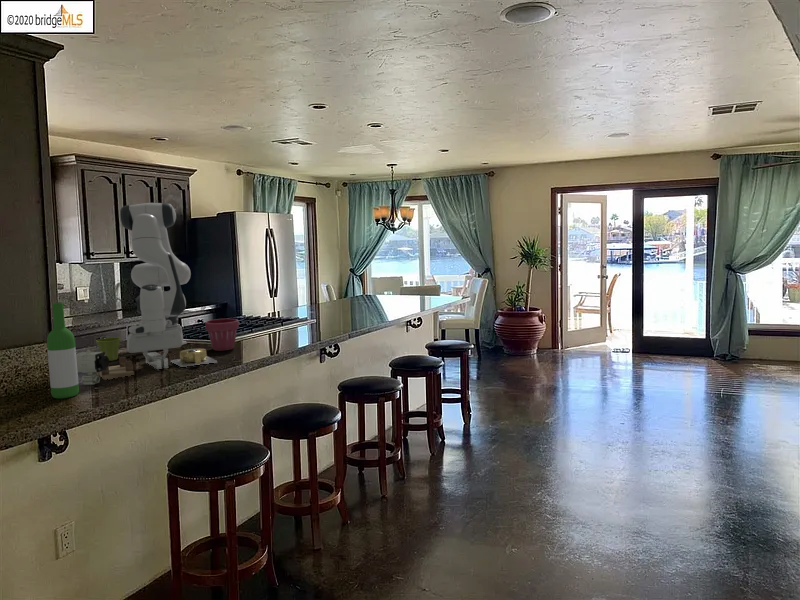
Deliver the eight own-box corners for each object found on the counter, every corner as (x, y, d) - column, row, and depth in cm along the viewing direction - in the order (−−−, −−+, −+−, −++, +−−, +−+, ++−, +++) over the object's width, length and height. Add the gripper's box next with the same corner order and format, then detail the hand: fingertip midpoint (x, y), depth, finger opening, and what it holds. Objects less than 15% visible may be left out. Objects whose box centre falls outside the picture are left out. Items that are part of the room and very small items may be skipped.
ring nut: (178, 359, 238) (177, 349, 238) (203, 356, 243) (203, 347, 243) (184, 365, 226) (184, 355, 226) (211, 361, 231) (210, 352, 230)
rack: (95, 372, 223) (94, 359, 222) (125, 368, 229) (124, 355, 228) (103, 380, 210) (102, 366, 209) (134, 375, 216) (133, 362, 215)
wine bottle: (59, 400, 184) (51, 304, 180) (46, 397, 188) (38, 303, 184) (84, 394, 190) (76, 301, 187) (70, 391, 194) (63, 301, 191)
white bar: (145, 362, 238) (145, 353, 238) (156, 361, 241) (155, 351, 240) (157, 370, 224) (156, 359, 223) (168, 368, 226) (167, 358, 226)
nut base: (170, 362, 238) (170, 359, 238) (205, 357, 246) (205, 355, 246) (181, 368, 227) (180, 365, 226) (217, 362, 235) (217, 360, 235)
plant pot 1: (127, 358, 249) (126, 338, 248) (108, 362, 240) (106, 341, 239) (111, 357, 253) (110, 337, 252) (92, 361, 244) (90, 340, 243)
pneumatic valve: (79, 382, 207) (76, 348, 206) (111, 382, 206) (108, 348, 205) (69, 386, 202) (66, 351, 200) (101, 386, 200) (98, 351, 199)
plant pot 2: (227, 352, 257) (225, 323, 255) (200, 351, 261) (198, 322, 260) (246, 346, 270) (244, 318, 269) (219, 345, 275) (218, 318, 273)
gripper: (178, 322, 240) (180, 356, 241) (124, 328, 228) (126, 363, 229) (183, 324, 235) (185, 358, 236) (127, 330, 223) (130, 366, 224)
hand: (156, 361), depth 233 cm, fingers closed on white bar, 4 cm apart
